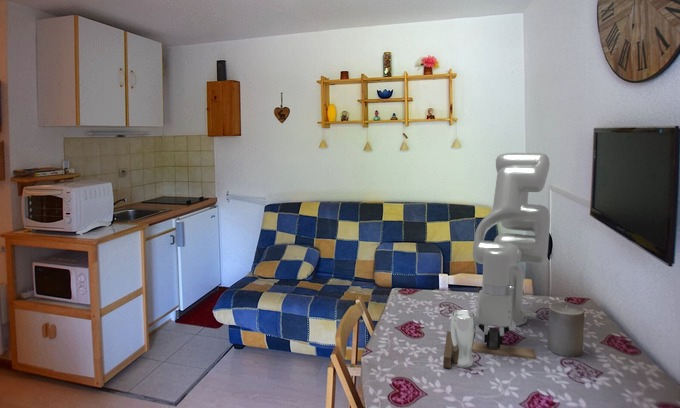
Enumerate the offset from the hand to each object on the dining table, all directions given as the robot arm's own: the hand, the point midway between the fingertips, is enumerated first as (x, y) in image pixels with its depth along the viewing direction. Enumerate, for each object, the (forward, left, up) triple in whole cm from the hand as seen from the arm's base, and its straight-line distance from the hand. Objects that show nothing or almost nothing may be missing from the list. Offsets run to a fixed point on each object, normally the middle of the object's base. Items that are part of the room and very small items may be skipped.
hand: (493, 345), depth 135 cm
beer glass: (+9, +10, -2) cm, 14 cm away
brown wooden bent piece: (+1, +6, -2) cm, 7 cm away
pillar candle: (-21, -6, -2) cm, 22 cm away
